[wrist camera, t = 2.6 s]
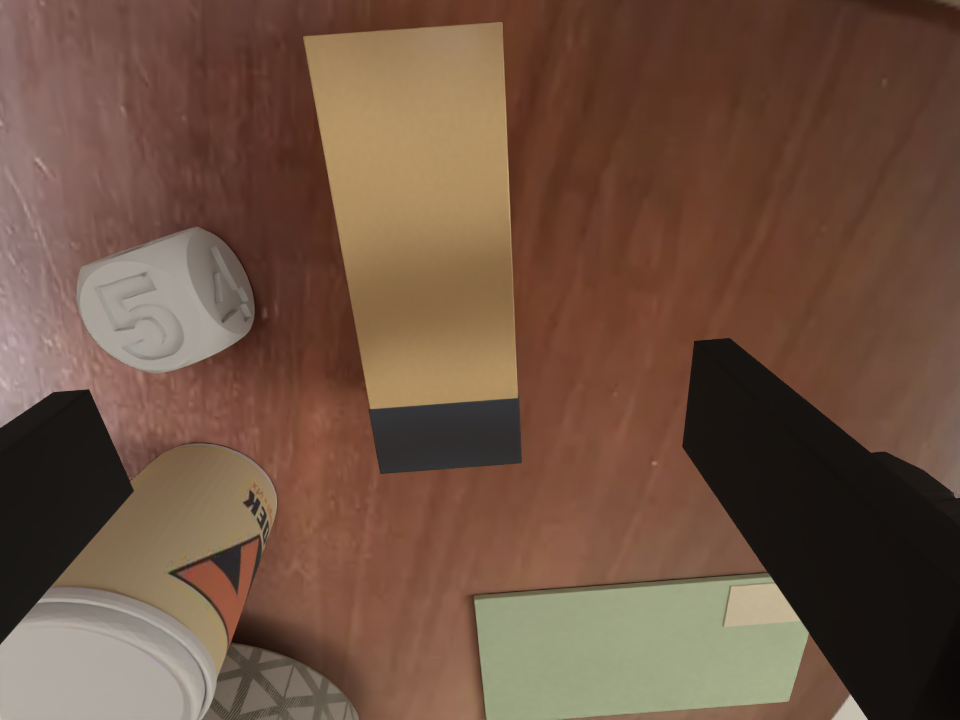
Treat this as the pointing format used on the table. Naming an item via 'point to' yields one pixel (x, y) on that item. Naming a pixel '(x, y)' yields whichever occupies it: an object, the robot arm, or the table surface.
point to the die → (167, 301)
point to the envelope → (637, 647)
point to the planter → (274, 689)
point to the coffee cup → (146, 598)
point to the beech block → (425, 236)
